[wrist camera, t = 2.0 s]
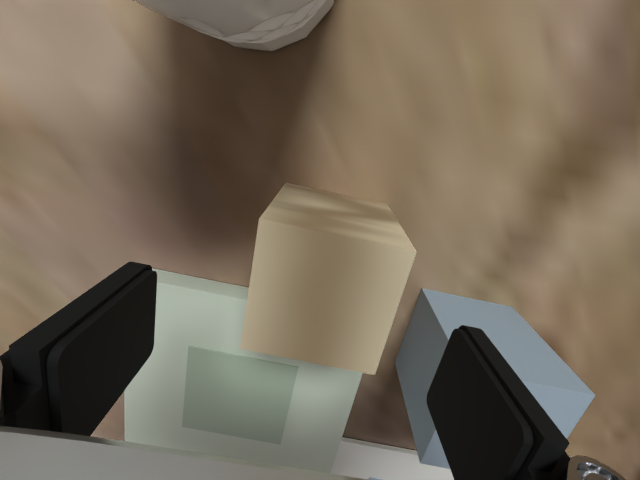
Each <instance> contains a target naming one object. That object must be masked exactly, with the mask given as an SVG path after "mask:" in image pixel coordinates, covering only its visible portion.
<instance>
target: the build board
mask: <svg viewBox="0 0 640 480" xmlns="http://www.w3.org/2000/svg"><path fill="white" fill-rule="evenodd" d="M152 271H156V272H157V293H156V314H155V334H154V347H153V351H152V353H151V355H150V357H149V358H148V360H147V361H146V362H145V364H144V365H143V366H142V368H141V369H140V370H139V372H138V373H137V374H136V376H135V377H134V378H133V380H132V381H131V382H130V384H129V385H128V386H127V388H126V389H125V390H124V404H125V441H127V442H133V443H140V444H146V445H153V446H159V447H166V448H172V449H179V450H185V451H192V452H198V453H205V454H211V455H217V456H224V457H230V458H237V459H243V460H250V461H256V462H262V463H268V464H275V465H281V466H287V467H293V468H300V469H306V470H312V471H318V472H324V473H331V470H332V467H333V464H334V460H335V457H336V454H337V451H338V448H339V445H340V442H341V439H342V436H343V433H344V430H345V426H346V423H347V420H348V417H349V414H350V411H351V408H352V405H353V402H354V399H355V395H356V392H357V389H358V386H359V383H360V380H361V377H362V374H363V373H362V372H357V371H351V370H346V369H341V368H336V367H331V366H326V365H321V364H315V363H310V362H305V361H300V360H295V359H290V358H285V357H279V356H274V355H269V354H264V353H259V352H254V351H248V350H243V349H240V345H241V338H242V331H243V324H244V318H245V311H246V304H247V297H248V290H249V288H248V287H243V286H238V285H233V284H228V283H223V282H218V281H213V280H208V279H203V278H198V277H193V276H188V275H183V274H178V273H173V272H168V271H163V270H158V269H153V268H152Z"/></svg>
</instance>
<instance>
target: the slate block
mask: <svg viewBox="0 0 640 480" xmlns="http://www.w3.org/2000/svg"><path fill="white" fill-rule="evenodd" d="M461 325H465V326H470V327H475V328H480V329H482V330H483V331H484V333H485V334H486V335H487V337H488V338H489V339H490V340H491V342H492V343H493V344H494V346H495V347H496V348H497V349H498V351H499V352H500V353H501V355H502V356H503V357H504V359H505V360H506V361H507V362H508V364H509V365H510V366H511V368H512V369H513V370H514V372H515V373H516V374H517V375H518V377H519V378H520V379H521V381H522V382H523V383H524V384H525V386H526V387H527V388H528V390H529V391H530V392H531V394H532V395H533V396H534V397H535V399H536V400H537V401H538V403H539V404H540V405H541V407H542V408H543V409H544V410H545V412H546V413H547V414H548V416H549V417H550V418H551V419H552V421H553V422H554V423H555V425H556V426H557V427H558V429H559V430H560V431H561V432H562V434H563V435H564V436H565V438H566V439H567V438H568V436H569V435H570V433H571V432H572V430H573V429H574V427H575V426H576V424H577V423H578V421H579V420H580V418H581V417H582V415H583V414H584V412H585V411H586V409H587V408H588V406H589V405H590V403H591V402H592V400H593V399H594V397H595V394H594V393H593V392H592V391H591V390H590V389H589V388H588V387H587V386H586V384H585V383H584V382H583V381H582V380H581V379H580V378H579V377H578V376H577V375H576V374H575V373H574V372H573V371H572V370H571V369H570V368H569V367H568V365H567V364H566V363H565V362H564V361H563V360H562V359H561V358H560V357H559V356H558V355H557V354H556V353H555V352H554V351H553V350H552V349H551V347H550V346H549V345H548V344H547V343H546V342H545V341H544V340H543V339H542V338H541V337H540V336H539V335H538V334H537V333H536V332H535V331H534V329H533V328H532V327H531V326H530V325H529V324H528V323H527V322H526V321H525V320H524V319H523V318H522V317H521V316H520V315H519V314H518V313H517V311H516V310H515V309H514V308H513V307H510V306H505V305H500V304H495V303H491V302H486V301H481V300H476V299H471V298H466V297H462V296H457V295H452V294H447V293H442V292H437V291H432V290H428V289H423V288H422V289H421V292H420V294H419V297H418V300H417V303H416V305H415V308H414V311H413V314H412V316H411V319H410V322H409V325H408V327H407V330H406V333H405V336H404V338H403V341H402V344H401V347H400V349H399V352H398V355H397V358H396V361H395V365H396V369H397V373H398V377H399V381H400V385H401V389H402V393H403V397H404V401H405V405H406V409H407V413H408V417H409V421H410V425H411V429H412V433H413V437H414V441H415V445H416V449H417V453H418V457H419V461H420V463H421V464H426V465H431V466H437V467H442V468H447V469H450V467H449V464H448V461H447V458H446V456H445V453H444V450H443V447H442V445H441V442H440V439H439V437H438V434H437V431H436V428H435V426H434V423H433V420H432V417H431V415H430V412H429V409H428V406H427V393H428V390H429V388H430V385H431V383H432V381H433V378H434V376H435V373H436V371H437V368H438V366H439V363H440V361H441V358H442V356H443V353H444V351H445V348H446V346H447V343H448V341H449V338H450V336H451V333H452V331H453V330H454V329H458V328H459V327H460V326H461Z"/></svg>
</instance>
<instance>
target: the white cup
mask: <svg viewBox="0 0 640 480" xmlns="http://www.w3.org/2000/svg"><path fill="white" fill-rule="evenodd" d="M133 1H135V2H137V3H139V4H141V5H143V6H145V7H147V8H149V9H151V10H153V11H155V12H157V13H159V14H161V15H163V16H165V17H167V18H169V19H172V20H174V21H176V22H178V23H181V24H183V25H186V26H188V27H190V28H192V29H195V30H197V31H199V32H201V33H203V34H206V35H209V36H212V37H214V38H218V39H221V40H224V41H225V42H227V43H229V44H231V45H233V46H235V47H241V48H248V49H256V50H264V51H274V50H277V49H279V48H281V47H284V46H286V45H289V44H291V43H294V42H296V41H299V40H301V39H304V38H306V37H307V36H308V35H309V33H310V32H311V31H312V30H313V29H314V28H315V26H316V25H317V24H318V23H319V22H320V21H321V19H322V18H323V17H324V16H325V15H326V14H327V12H328V11H329V10H330V9H331V8H332V6H333V4H334V1H335V0H133Z"/></svg>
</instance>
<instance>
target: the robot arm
mask: <svg viewBox="0 0 640 480" xmlns="http://www.w3.org/2000/svg"><path fill="white" fill-rule="evenodd" d="M156 293H157V272H156V271H152V267H151V266H150V265H146V264H140V263H135V262H128V263H127V264H125V265H124V266H122V267H121V268H119V269H118V270H117V271H115V272H114V273H112V274H111V275H109V276H108V277H107V278H105V279H104V280H102V281H101V282H99V283H98V284H97V285H95V286H94V287H92V288H91V289H89V290H88V291H87V292H85V293H84V294H82V295H81V296H79V297H78V298H77V299H75V300H74V301H72V302H71V303H69V304H68V305H67V306H65V307H64V308H62V309H61V310H59V311H58V312H57V313H55V314H54V315H52V316H51V317H49V318H48V319H47V320H45V321H44V322H42V323H41V324H39V325H38V326H37V327H35V328H34V329H32V330H31V331H29V332H28V333H27V334H25V335H24V336H22V337H21V338H19V339H18V340H17V341H15V342H14V343H12V344H11V345H9V350H8V351H7V352H5V353H4V354H3V355H1V356H0V480H368V479H362V478H355V477H349V476H343V475H337V474H331V473H324V472H318V471H312V470H306V469H300V468H293V467H287V466H281V465H275V464H268V463H262V462H256V461H250V460H243V459H237V458H230V457H224V456H217V455H211V454H205V453H198V452H192V451H185V450H179V449H172V448H166V447H159V446H153V445H146V444H140V443H133V442H127V441H120V440H113V439H105V438H98V437H91V436H90V435H91V434H92V433H93V431H94V430H95V429H96V427H97V426H98V425H99V423H100V422H101V421H102V419H103V418H104V417H105V415H106V414H107V413H108V411H109V410H110V409H111V407H112V406H113V405H114V404H115V402H116V401H117V400H118V398H119V397H120V396H121V394H122V393H123V392H124V390H125V389H126V388H127V386H128V385H129V384H130V382H131V381H132V380H133V378H134V377H135V376H136V374H137V373H138V372H139V370H140V369H141V368H142V366H143V365H144V364H145V362H146V361H147V360H148V358H149V357H150V355H151V353H152V351H153V347H154V334H155V314H156ZM427 406H428V409H429V412H430V415H431V417H432V420H433V423H434V426H435V428H436V431H437V434H438V437H439V439H440V442H441V445H442V447H443V450H444V453H445V456H446V458H447V461H448V464H449V467H450V469H451V472H452V475H453V477H454V480H626V479H625V478H624V477H622V476H621V475H620V474H619V473H617V472H616V471H614V470H613V469H611V468H610V467H608V466H607V465H605V464H603V463H601V462H599V461H597V460H595V459H592V458H589V457H586V456H578V455H577V456H574V457H571V459H570V458H569V456H568V455H567V453H566V452H565V450H566V448H567V446H568V445H569V442H568V440H567V439H566V438H565V436H564V435H563V434H562V432H561V431H560V430H559V429H558V427H557V426H556V425H555V423H554V422H553V421H552V419H551V418H550V417H549V416H548V414H547V413H546V412H545V410H544V409H543V408H542V407H541V405H540V404H539V403H538V401H537V400H536V399H535V397H534V396H533V395H532V394H531V392H530V391H529V390H528V388H527V387H526V386H525V384H524V383H523V382H522V381H521V379H520V378H519V377H518V375H517V374H516V373H515V372H514V370H513V369H512V368H511V366H510V365H509V364H508V362H507V361H506V360H505V359H504V357H503V356H502V355H501V353H500V352H499V351H498V349H497V348H496V347H495V346H494V344H493V343H492V342H491V340H490V339H489V338H488V337H487V335H486V334H485V333H484V331H483V330H482V329H480V328H475V327H470V326H465V325H461V326H460V327H459V328H458V329H454V330H453V331H452V333H451V336H450V338H449V341H448V343H447V346H446V348H445V351H444V353H443V356H442V358H441V361H440V363H439V366H438V368H437V371H436V373H435V376H434V378H433V381H432V383H431V385H430V388H429V390H428V393H427Z"/></svg>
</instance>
